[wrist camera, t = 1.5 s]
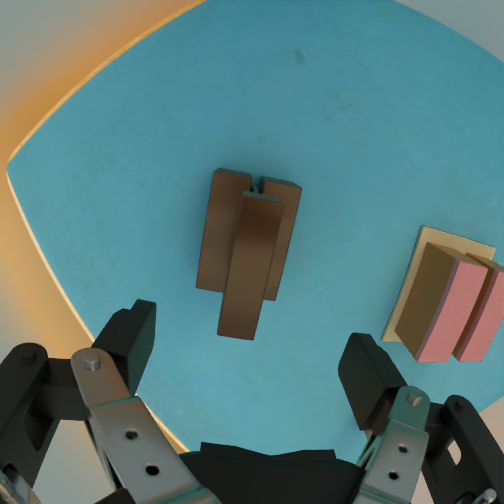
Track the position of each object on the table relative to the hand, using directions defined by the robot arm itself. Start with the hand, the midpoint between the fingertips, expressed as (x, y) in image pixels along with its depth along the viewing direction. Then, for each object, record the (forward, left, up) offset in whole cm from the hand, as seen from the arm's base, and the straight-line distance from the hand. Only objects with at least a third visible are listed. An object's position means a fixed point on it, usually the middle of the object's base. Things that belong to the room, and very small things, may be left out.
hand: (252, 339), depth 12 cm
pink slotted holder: (+3, +25, -18) cm, 31 cm away
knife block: (0, 0, -18) cm, 18 cm away
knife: (0, 0, -18) cm, 18 cm away
